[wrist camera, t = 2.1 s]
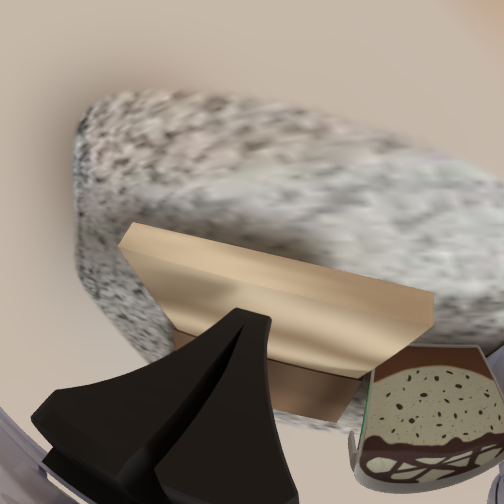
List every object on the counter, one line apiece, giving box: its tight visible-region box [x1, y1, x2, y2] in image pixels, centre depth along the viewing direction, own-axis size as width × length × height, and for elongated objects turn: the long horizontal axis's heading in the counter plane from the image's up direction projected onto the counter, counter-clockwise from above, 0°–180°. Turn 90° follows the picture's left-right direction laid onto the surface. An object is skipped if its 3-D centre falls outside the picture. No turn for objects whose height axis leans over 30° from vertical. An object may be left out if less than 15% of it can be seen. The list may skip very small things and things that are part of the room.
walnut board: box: [173, 327, 362, 423], centre depth 22 cm, size 15×6×2 cm, turn 84°
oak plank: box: [118, 222, 434, 379], centre depth 16 cm, size 11×14×2 cm
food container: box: [348, 343, 504, 494], centre depth 15 cm, size 12×6×10 cm, turn 92°
